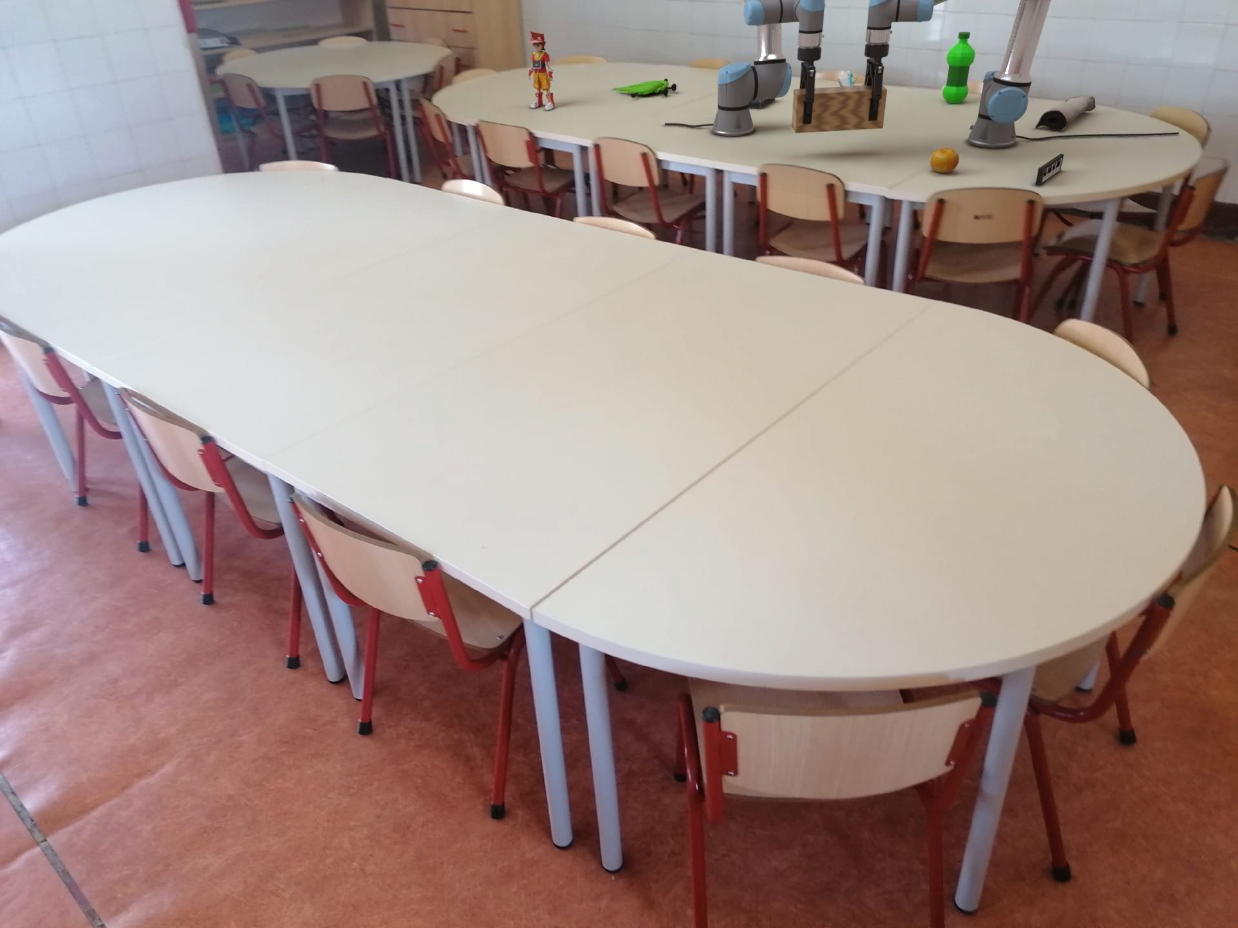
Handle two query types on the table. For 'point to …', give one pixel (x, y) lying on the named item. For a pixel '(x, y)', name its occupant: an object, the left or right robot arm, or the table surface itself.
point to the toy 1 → (541, 71)
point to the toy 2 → (648, 88)
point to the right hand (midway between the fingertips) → (869, 117)
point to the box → (838, 109)
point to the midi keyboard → (1049, 169)
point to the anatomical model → (847, 80)
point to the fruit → (944, 160)
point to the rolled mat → (1066, 112)
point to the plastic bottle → (958, 69)
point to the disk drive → (760, 103)
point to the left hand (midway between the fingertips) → (805, 120)
